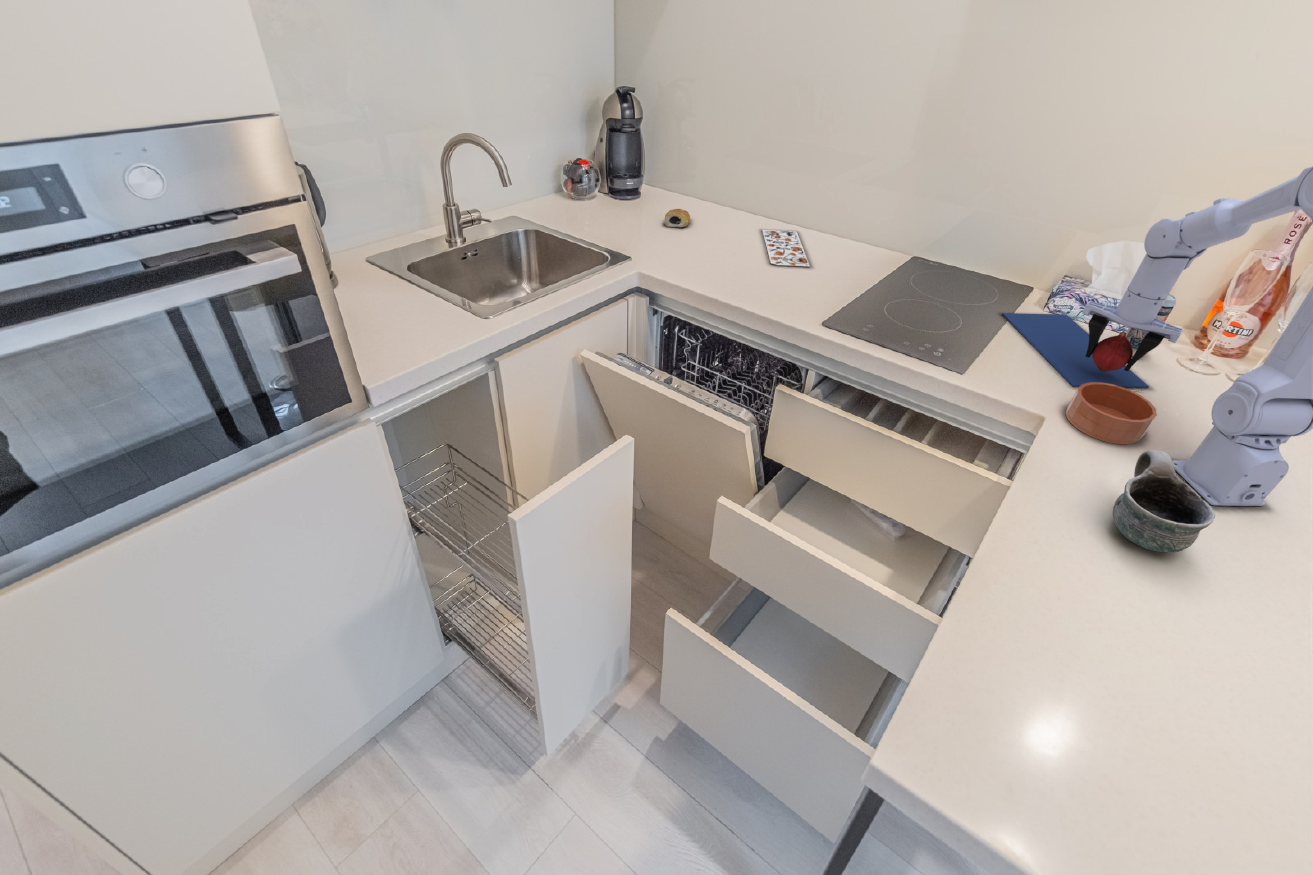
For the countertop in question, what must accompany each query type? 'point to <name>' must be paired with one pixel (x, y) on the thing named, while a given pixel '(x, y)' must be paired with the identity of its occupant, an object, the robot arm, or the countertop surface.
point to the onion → (1113, 353)
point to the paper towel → (785, 248)
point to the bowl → (1110, 413)
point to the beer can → (1170, 302)
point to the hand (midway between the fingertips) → (1107, 362)
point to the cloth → (1068, 349)
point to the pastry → (677, 218)
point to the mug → (1160, 507)
